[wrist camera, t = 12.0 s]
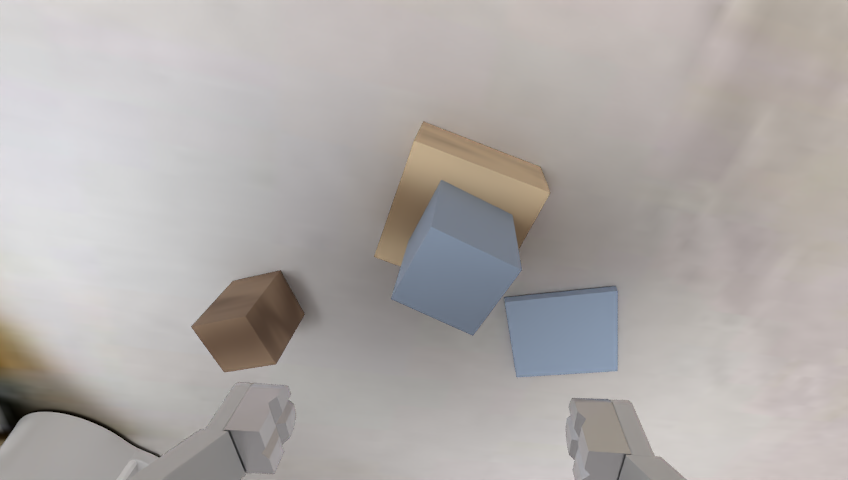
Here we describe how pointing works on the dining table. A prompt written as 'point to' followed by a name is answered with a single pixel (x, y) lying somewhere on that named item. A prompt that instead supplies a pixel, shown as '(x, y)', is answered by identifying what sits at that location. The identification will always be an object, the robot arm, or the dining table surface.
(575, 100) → the dining table surface
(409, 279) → the blue cube
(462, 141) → the oak base
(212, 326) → the walnut cube
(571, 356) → the tile
